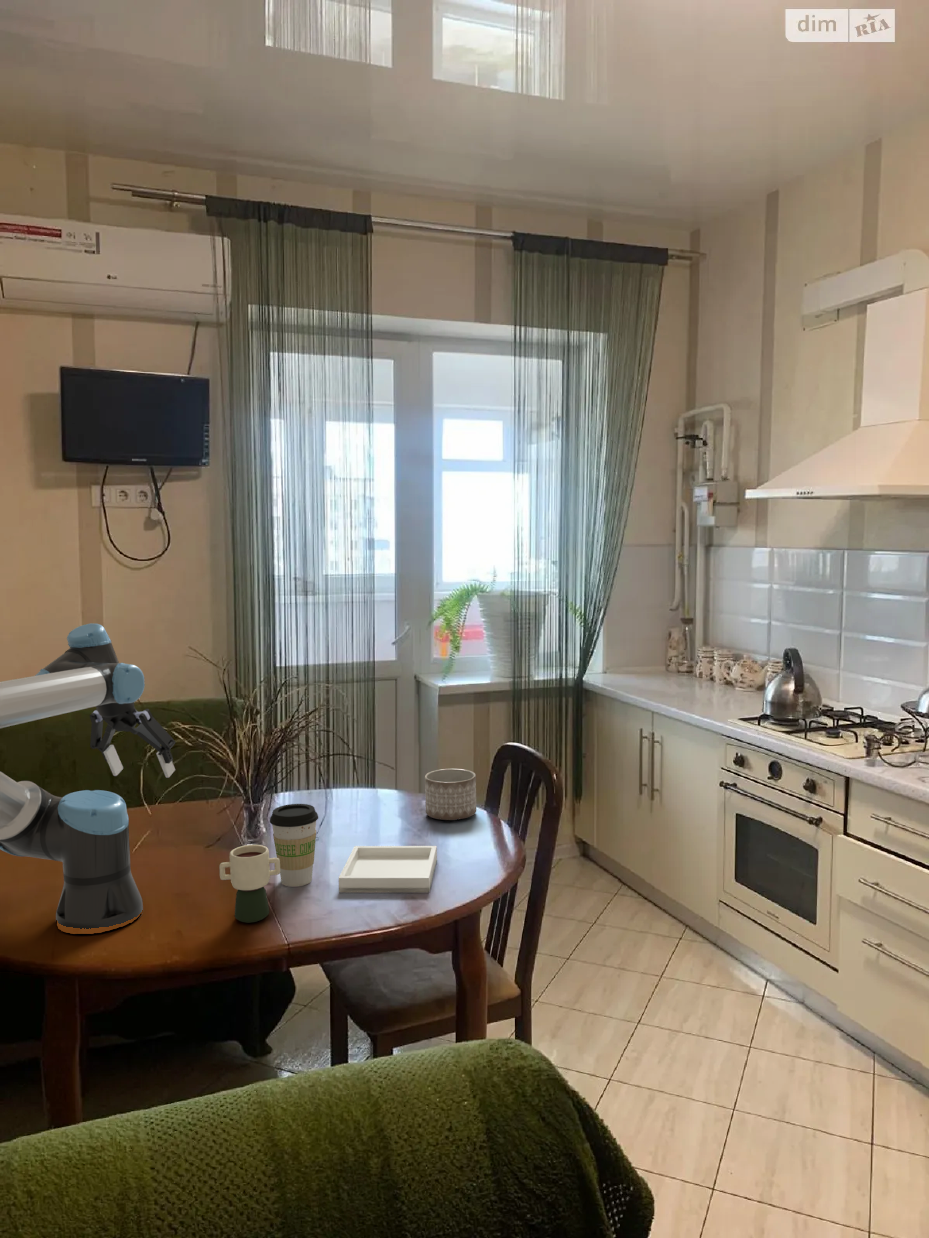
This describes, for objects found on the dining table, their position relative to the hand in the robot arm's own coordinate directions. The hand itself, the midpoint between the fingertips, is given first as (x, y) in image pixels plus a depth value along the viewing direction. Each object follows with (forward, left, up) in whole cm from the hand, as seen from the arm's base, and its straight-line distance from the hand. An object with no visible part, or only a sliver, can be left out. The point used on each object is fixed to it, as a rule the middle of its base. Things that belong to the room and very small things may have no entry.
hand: (144, 772), depth 198 cm
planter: (+29, -66, -20) cm, 74 cm away
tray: (-10, -56, -19) cm, 60 cm away
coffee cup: (-13, -37, -19) cm, 44 cm away
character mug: (-31, -33, -19) cm, 49 cm away
